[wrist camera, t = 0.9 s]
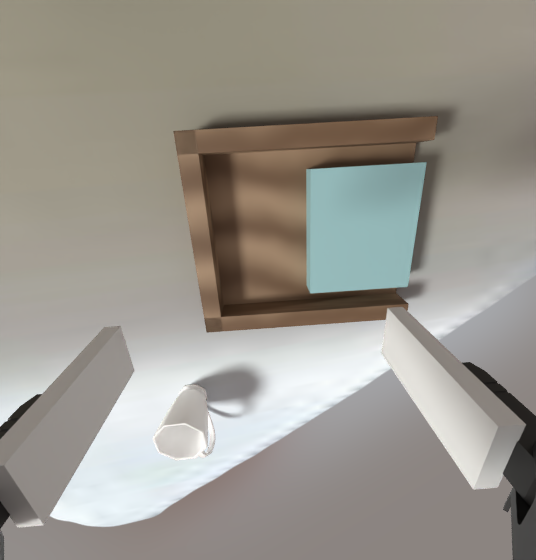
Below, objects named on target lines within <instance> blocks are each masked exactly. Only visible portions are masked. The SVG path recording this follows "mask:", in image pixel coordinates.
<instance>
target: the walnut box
mask: <svg viewBox="0 0 536 560" xmlns="http://www.w3.org/2000/svg"><path fill="white" fill-rule="evenodd" d="M437 119H438V116H431V117H413V118H396V119H378V120H360V121H343V122H325V123H308V124H290V125H272V126H255V127H237V128H219V129H202V130H184V131H173V132H174V138H175V144H176V150H177V156H178V162H179V168H180V174H181V180H182V186H183V192H184V198H185V204H186V210H187V216H188V222H189V228H190V234H191V240H192V246H193V253H194V259H195V265H196V271H197V277H198V283H199V289H200V295H201V301H202V307H203V313H204V319H205V325H206V331H207V332H220V331H233V330H247V329H261V328H275V327H289V326H303V325H317V324H331V323H345V322H359V321H373V320H386V315H387V308H394V307H403V308H404V309H405V310H408V303H407V302H406V301H405V300H403V299H402V298H401V297H400V296H399V295H398V294H396V289H397V288H382V289H368V290H354V291H339V292H325V293H310V292H309V290H308V287H307V225H306V169H319V168H336V167H353V166H369V165H386V164H403V163H414V155H415V148H416V143H418V142H424V141H430V140H434V138H435V132H436V125H437Z"/></svg>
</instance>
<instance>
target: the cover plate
mask: <svg viewBox="0 0 536 560" xmlns="http://www.w3.org/2000/svg"><path fill="white" fill-rule="evenodd" d="M426 163H427V162H420V163H403V164H386V165H369V166H353V167H336V168H319V169H306V225H307V287H308V290H309V292H310V293H325V292H339V291H354V290H368V289H382V288H397V287H408V282H409V275H410V269H411V262H412V255H413V249H414V242H415V236H416V229H417V223H418V216H419V209H420V203H421V196H422V190H423V183H424V176H425V170H426Z"/></svg>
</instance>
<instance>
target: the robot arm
mask: <svg viewBox="0 0 536 560" xmlns="http://www.w3.org/2000/svg"><path fill="white" fill-rule="evenodd" d="M381 353H382V355H383V356H384V358H385V359H386V361H387V362H388V364H389V365H390V367H391V368H392V370H393V371H394V373H395V374H396V376H397V377H398V379H399V380H400V382H401V383H402V385H403V386H404V387H405V389H406V390H407V392H408V393H409V395H410V396H411V398H412V399H413V401H414V402H415V404H416V405H417V407H418V408H419V410H420V411H421V413H422V414H423V416H424V417H425V418H426V420H427V422H428V423H429V424H430V426H431V427H432V429H433V430H434V432H435V433H436V435H437V436H438V438H439V439H440V441H441V442H442V444H443V445H444V447H445V448H446V450H447V451H448V453H449V454H450V455H451V457H452V458H453V460H454V461H455V463H456V464H457V466H458V467H459V469H460V470H461V472H462V473H463V475H464V476H465V478H466V479H467V480H468V482H469V483H470V485H471V486H472V488H473V489H486V488H496V487H498V485H499V483H500V481H501V479H502V477H503V475H504V476H505V477H506V478H507V479H508V481H509V482H510V483H511V485H512V486H513V488H512V490H511V492H510V494H509V497H508V498H507V501H506V503H505V505H504V509H503V510H505V511H506V512H508V511H509V509H510V507H511V521H512V550H513V560H536V416H535V415H534V414H533V413H532V412H530V411H529V410H528V409H527V408H526V407H525V406H524V405H523V404H522V403H520V402H519V401H518V400H517V399H516V398H515V397H514V396H513V395H512V394H510V393H508V392H507V390H506V389H505V388H504V387H503V386H501V385H500V384H498V383H497V381H496V380H495V379H494V378H492V377H491V376H490V375H489V374H488V373H487V372H485V371H484V370H482V369H481V368H479V367H477V366H475V365H474V364H472V363H470V362H466V363H461V362H460V361H459V360H458V359H457V358H456V357H455V356H454V355H453V354H451V352H450V351H448V350H447V349H446V348H445V347H444V346H443V345H442V344H441V343H440V342H439V341H438V340H437V339H436V338H435V337H434V336H433V335H432V334H431V333H430V332H429V331H428V330H426V329H425V328H424V327H423V326H422V325H421V324H420V323H419V322H418V321H417V320H416V319H415V318H414V317H413V316H412V315H411V314H410V313H409V312H408V311H407V310H405V309H404V308H403V307H394V308H387V315H386V323H385V330H384V337H383V344H382V352H381ZM133 372H134V368H133V365H132V361H131V358H130V355H129V352H128V348H127V345H126V342H125V339H124V336H123V332H122V329H121V326H114V327H104V328H103V329H102V330H101V332H100V333H99V334H98V335H97V336H96V337H95V338H94V339H93V340H92V341H91V342H90V343H89V344H88V346H87V347H86V348H85V349H84V350H83V351H82V352H81V353H80V354H79V355H78V356H77V357H76V358H75V360H74V361H73V362H72V363H71V364H70V365H69V366H68V367H67V368H66V369H65V370H64V371H63V372H62V374H61V375H60V376H59V377H58V378H57V379H56V380H55V381H54V382H53V383H52V384H51V385H50V386H49V387H48V389H47V390H46V391H45V392H44V393H43V394H37V395H36V396H34V397H33V398H31V399H30V400H28V401H27V402H26V403H24V404H23V405H21V406H20V407H19V408H18V409H17V410H16V411H15V412H14V413H13V414H12V415H11V416H10V417H9V418H8V421H7V422H5V423H4V424H3V425H2V426H1V427H0V528H1V527H2V526H3V524H4V522H6V520H7V519H8V517H9V516H10V518H11V519H12V520H13V522H14V523H15V524H16V526H17V527H29V526H41V525H44V524H45V522H46V521H47V519H48V517H49V516H50V514H51V512H52V510H53V509H54V507H55V505H56V504H57V502H58V500H59V498H60V497H61V495H62V493H63V492H64V490H65V488H66V487H67V485H68V483H69V481H70V480H71V478H72V476H73V475H74V473H75V471H76V470H77V468H78V466H79V464H80V463H81V461H82V459H83V458H84V456H85V454H86V452H87V451H88V449H89V447H90V446H91V444H92V442H93V441H94V439H95V437H96V435H97V434H98V432H99V430H100V429H101V427H102V425H103V423H104V422H105V420H106V418H107V417H108V415H109V413H110V412H111V410H112V408H113V406H114V405H115V403H116V401H117V400H118V398H119V396H120V395H121V393H122V391H123V389H124V388H125V386H126V384H127V383H128V381H129V379H130V377H131V376H132V374H133ZM0 560H4V536H3V534H2V531H1V530H0Z"/></svg>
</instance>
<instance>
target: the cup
mask: <svg viewBox="0 0 536 560" xmlns="http://www.w3.org/2000/svg"><path fill="white" fill-rule="evenodd" d="M206 400H207V394H206V390H205V389H204V388H202V387H201V386H199V385H197V384H192V385H185V386H184V387H183V388H182V390H181V391H180V392H179V396H178V397H177V398H176V400H175V401H174V402H173V404H172V405H171V407H170V408H169V410H168V411H167V413H166V415H165V417H164V419H163V421H162V422H161V424H160V426H159V427H158V429H157V431H156V433H155V435H154V436H153V441H154V443H155V446H156V448H157V451H158V453H160V454H163V455H165V456H167V457H169V458H172V459H174V460H184V459H192V458H197V457H198V456H200V457H202V458H204V457H206V456H208V455H209V454H211V453H212V450H213V448H214V444H215V430H214V426H213V423H212V420H211V417H210V414H209V412H208V410H207V402H206ZM208 428H209V432H210V443H209V447H208V450H207V452H206V453H205V452H204V449H205V448H206V447H207V443H208Z"/></svg>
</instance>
